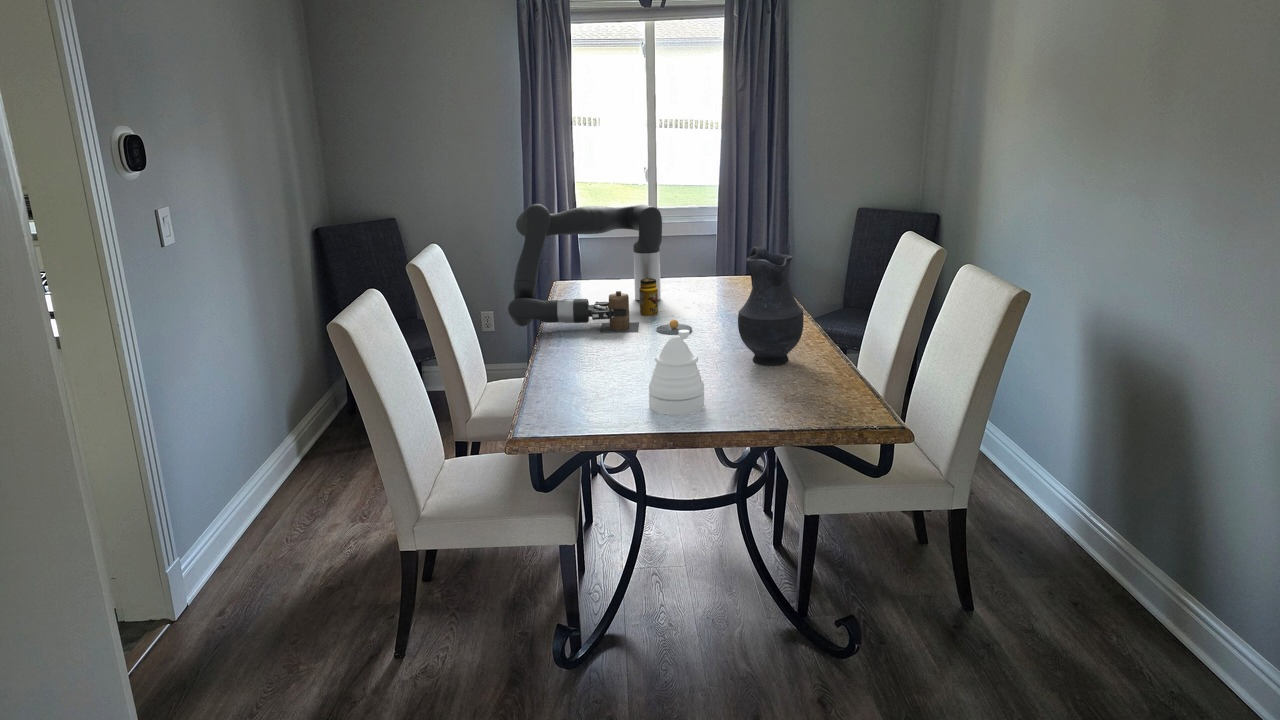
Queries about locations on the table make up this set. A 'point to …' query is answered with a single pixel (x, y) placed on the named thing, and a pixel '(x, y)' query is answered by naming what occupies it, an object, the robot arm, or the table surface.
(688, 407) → the honey pot
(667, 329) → the grey round disc
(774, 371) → the table surface
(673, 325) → the ball
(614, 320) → the canister
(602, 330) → the mat
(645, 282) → the condiment
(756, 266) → the pitcher
